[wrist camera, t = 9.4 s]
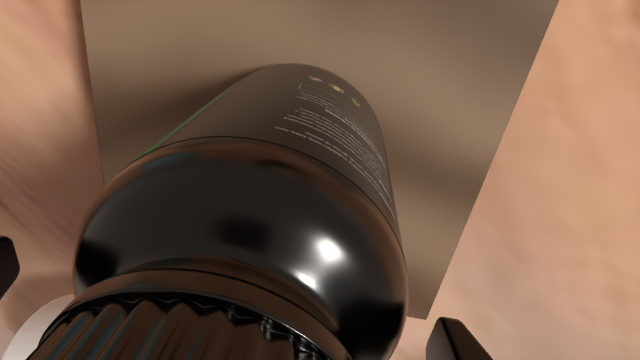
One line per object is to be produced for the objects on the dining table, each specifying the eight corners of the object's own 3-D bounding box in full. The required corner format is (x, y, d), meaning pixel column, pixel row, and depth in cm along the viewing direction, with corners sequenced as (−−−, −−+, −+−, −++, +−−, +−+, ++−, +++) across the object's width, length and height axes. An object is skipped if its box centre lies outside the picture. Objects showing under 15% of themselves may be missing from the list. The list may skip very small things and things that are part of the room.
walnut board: (420, 291, 20) (425, 319, 19) (135, 238, 21) (113, 262, 19) (548, -44, 13) (579, -48, 11) (101, -124, 13) (61, -141, 11)
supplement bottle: (190, 79, 14) (-317, 352, 4) (369, 42, 13) (426, 285, 2) (243, 227, 17) (54, 621, 6) (393, 208, 16) (465, 650, 5)
